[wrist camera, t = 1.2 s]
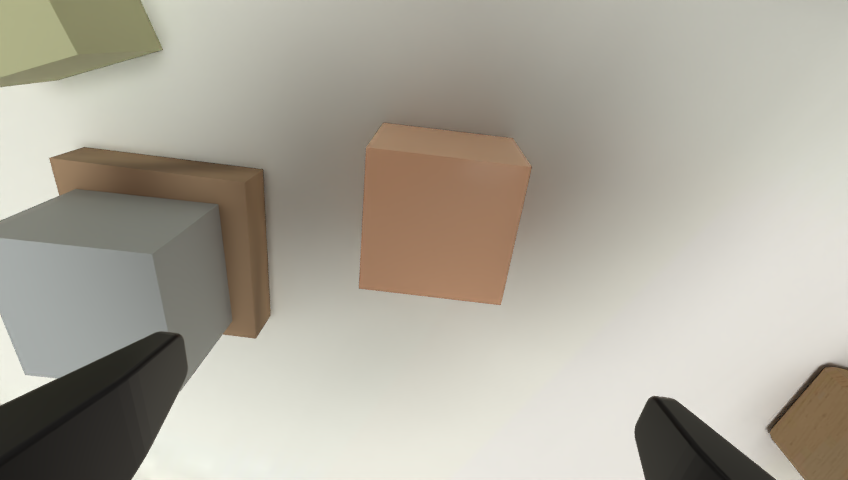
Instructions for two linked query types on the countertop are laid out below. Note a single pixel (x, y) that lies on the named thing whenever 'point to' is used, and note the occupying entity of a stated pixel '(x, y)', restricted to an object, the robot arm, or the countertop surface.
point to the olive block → (69, 37)
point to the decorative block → (817, 428)
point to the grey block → (111, 278)
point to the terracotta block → (440, 212)
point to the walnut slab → (197, 183)
